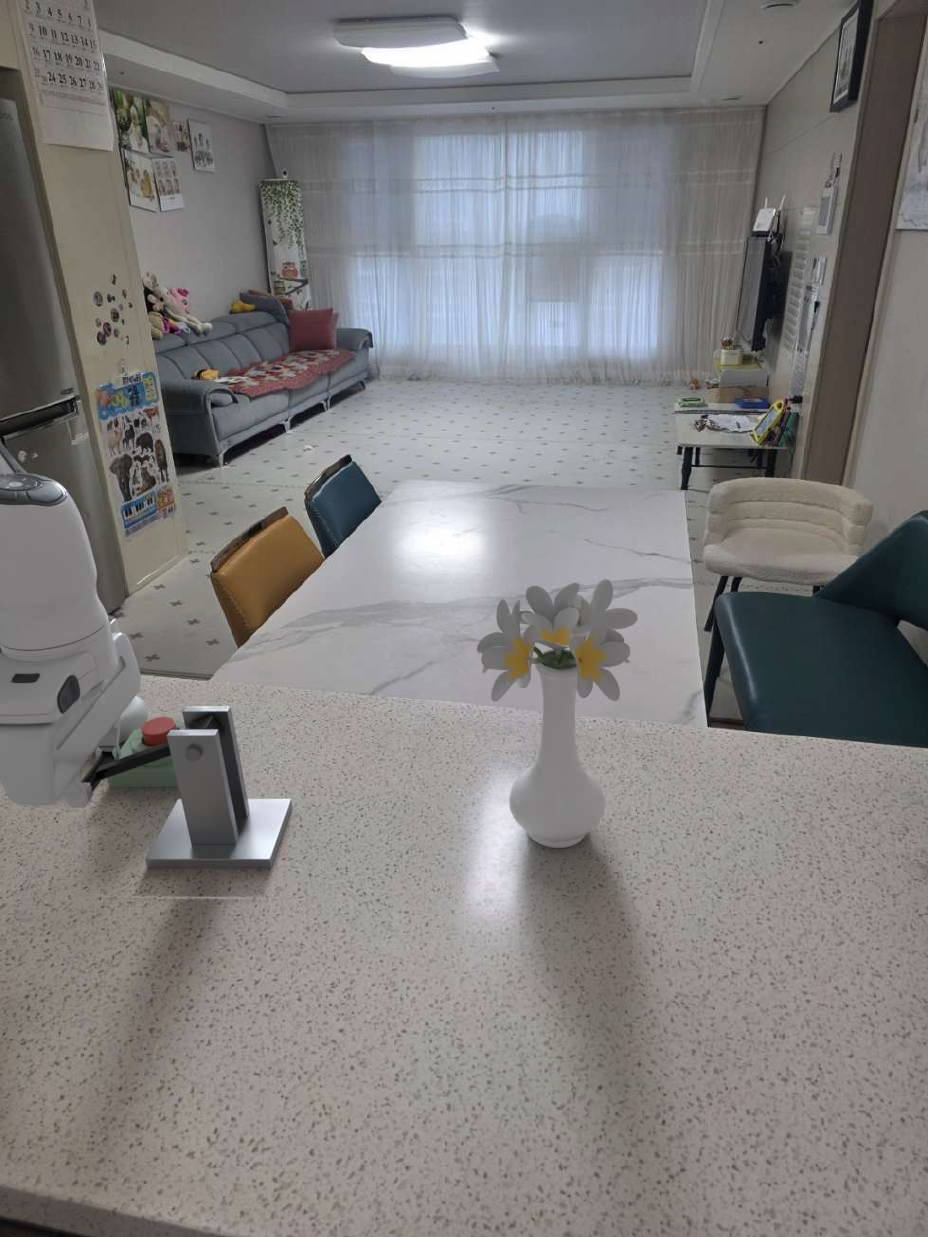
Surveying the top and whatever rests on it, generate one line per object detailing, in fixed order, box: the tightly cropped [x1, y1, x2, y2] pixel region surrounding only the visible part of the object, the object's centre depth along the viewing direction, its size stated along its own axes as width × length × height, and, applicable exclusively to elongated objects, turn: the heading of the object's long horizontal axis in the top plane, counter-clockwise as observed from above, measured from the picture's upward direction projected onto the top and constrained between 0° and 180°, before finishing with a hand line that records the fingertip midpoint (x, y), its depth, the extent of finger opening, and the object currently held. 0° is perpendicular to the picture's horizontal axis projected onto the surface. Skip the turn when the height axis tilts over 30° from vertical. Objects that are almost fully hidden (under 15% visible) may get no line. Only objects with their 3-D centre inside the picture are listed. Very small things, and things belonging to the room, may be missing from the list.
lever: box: [80, 716, 225, 793], centre depth 78 cm, size 14×5×2 cm, turn 88°
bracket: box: [144, 705, 294, 870], centre depth 79 cm, size 12×9×14 cm
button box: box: [106, 719, 185, 788], centre depth 92 cm, size 10×8×4 cm
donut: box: [96, 695, 149, 749], centre depth 99 cm, size 10×4×10 cm
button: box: [142, 716, 177, 747], centre depth 91 cm, size 4×4×2 cm
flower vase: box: [476, 578, 639, 849], centre depth 77 cm, size 13×18×25 cm
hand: (96, 781), depth 79 cm, fingers closed on lever, 5 cm apart
